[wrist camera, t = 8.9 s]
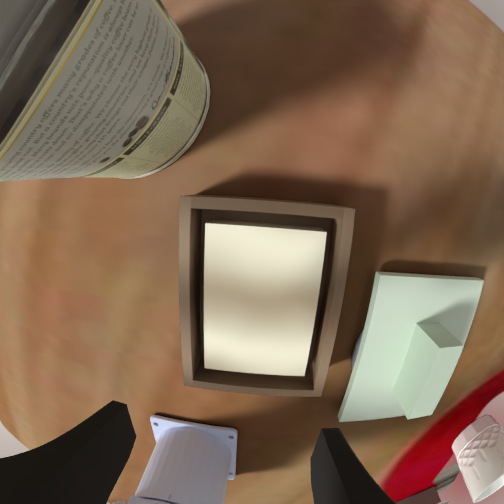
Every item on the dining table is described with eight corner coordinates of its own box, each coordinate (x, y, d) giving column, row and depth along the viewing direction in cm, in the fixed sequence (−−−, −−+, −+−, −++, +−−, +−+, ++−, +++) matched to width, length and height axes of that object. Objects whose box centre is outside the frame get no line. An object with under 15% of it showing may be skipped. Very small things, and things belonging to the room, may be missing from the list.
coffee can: (68, 172, 17) (-97, 184, 3) (102, 47, 15) (-22, -27, 1) (192, 192, 17) (-8, 220, 3) (229, 45, 15) (166, -124, 1)
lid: (430, 404, 19) (448, 434, 15) (337, 415, 20) (346, 453, 15) (477, 277, 16) (511, 296, 12) (376, 271, 17) (403, 295, 13)
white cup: (438, 458, 22) (461, 510, 12) (464, 419, 20) (499, 474, 11) (477, 443, 22) (503, 487, 12) (503, 404, 20) (537, 448, 10)
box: (315, 370, 19) (320, 396, 16) (194, 361, 20) (184, 385, 17) (341, 205, 17) (355, 209, 14) (194, 194, 17) (180, 196, 14)
